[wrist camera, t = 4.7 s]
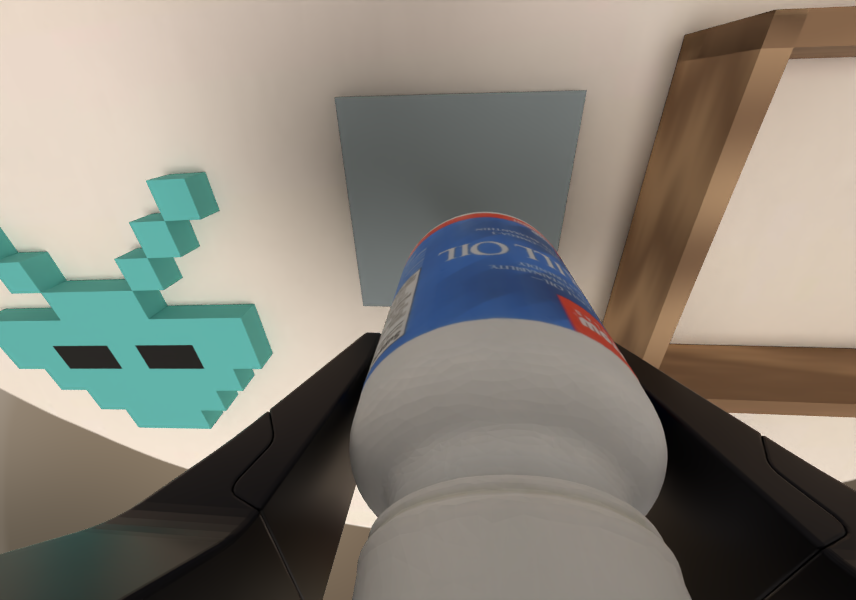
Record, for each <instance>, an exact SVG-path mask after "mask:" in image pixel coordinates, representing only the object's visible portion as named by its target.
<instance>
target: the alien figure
mask: <svg viewBox="0 0 856 600" xmlns="http://www.w3.org/2000/svg"><path fill="white" fill-rule="evenodd" d="M146 182H147V184H148V187H149V189H150V191H151V193H152V195H153V197H154V200H155V202H156V204H157V206H158V208H159V210H160V213H155V214H150V215H147V216H145V217H142V218H140V219H137V220H134V221H132V222H129V224H130V226H131V228H132V229H133V231H134V233H135V235H136V237H137V239H138V241H139V243H140V245H141V247H142V248H137V249H135V250H133V251H131V252H128V253H126V254H124V255H122V256H120V257H118V258H116V259H114V260H115V261H116V263H117V265H118V267H119V268H120V270H121V272H122V274H123V275H124V277H125V279H113V280H76V281H67V280H66V279H65V277H64V276H63V274H62V273H61V271H60V270H59V268H58V267H57V265H56V264H55V262H54V261H53V259H52V258H51V256H50V255H49V253H48V252H22V253H18V251H17V250H16V249H15V247H14V246H13V244H12V243H11V242H10V240H9V239H8V237H7V236H6V235H5V233H4V232H3V230H2V229H1V228H0V279H1V281H2V282H3V283H4V284H5V286H6V287H7V288H8V290H9V291H10V292H11V293H12V294H13V293H41V294H42V295H43V296H44V298H45V299H46V300H47V302H48V303H49V305H50V306H51V307H52V308H24V309H4V310H2V311H0V347H1V348H2V350H3V351H4V352H5V353H6V354H7V355H8V356H9V358H10V359H11V360H12V361H13V362H14V363H15V364H16V365H17V367H18V368H19V369H45V370H46V371H47V372H48V374H49V375H50V376H51V377H52V378H53V380H54V381H55V382H56V383H57V384H58V386H59V387H60V388H61V389H62V390H87V391H88V392H89V394H90V395H91V396H92V397H93V399H94V400H95V401H96V403H97V404H98V405H99V406H100V408H101V409H126V410H127V412H128V413H129V415H130V416H131V417H132V419H133V420H134V421H135V423H136V424H137V426H138V427H144V428H199V429H211V428H212V427H213V425H214V424H215V423H216V421H217V420H218V419H219V417H220V416H221V415H222V413H223V411H226V410H227V409H228V408H229V406H230V405H231V404H232V402H233V401H234V399H235V398H236V397H237V395H238V393H237V391H243V390H244V389H245V387H246V386H247V385H248V383H249V382H250V381H251V379H252V378H253V376H254V372H253V370H252V369H262V367H263V366H264V365H265V363H266V362H267V361H268V359H269V358H270V356H271V355H272V354H273V353H272V350H271V347H270V345H269V342H268V339H267V337H266V334H265V331H264V329H263V326H262V323H261V321H260V318H259V315H258V312H257V310H256V307H255V304H233V305H181V306H167V304H166V302H165V300H164V298H163V297H162V295H161V293H160V291H159V290H165V289H166V288H168V287H169V286H171V285H172V284H174V283H175V282H177V281H178V280H180V279H181V278H183V277H182V275H181V273H180V271H179V269H178V266H177V264H176V262H175V260H174V258H173V257H182V256H184V255H185V254H187V253H189V252H191V251H192V250H194V249H196V248H198V247H199V246H200V245H199V242H198V240H197V238H196V235H195V233H194V231H193V228H192V226H191V224H190V221H189V220H199V219H203V218H205V217H207V216H209V215H211V214H213V213H215V212H217V211H220V210H219V208H218V205H217V202H216V200H215V197H214V194H213V192H212V189H211V186H210V184H209V181H208V178H207V176H206V173H205V172H201V173H183V174H169V175H165V176H161V177H158V178H154V179H150V180H146Z"/></svg>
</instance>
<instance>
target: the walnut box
mask: <svg viewBox="0 0 856 600" xmlns="http://www.w3.org/2000/svg"><path fill="white" fill-rule="evenodd" d="M831 57H856V6H851V7H827V8H804V9H780V10H773V11H769V12H766V13H762V14H759V15H755V16H751V17H748V18H744V19H741V20H737V21H734V22H730V23H726V24H723V25H719V26H716V27H712V28H708V29H705V30H701V31H698V32H694V33H690V34H687V35H685V37H684V40H683V44H682V47H681V51H680V54H679V58H678V61H677V65H676V68H675V72H674V75H673V79H672V82H671V86H670V89H669V93H668V96H667V100H666V103H665V107H664V110H663V114H662V117H661V121H660V124H659V128H658V131H657V135H656V138H655V142H654V145H653V149H652V153H651V156H650V160H649V163H648V167H647V170H646V174H645V177H644V181H643V184H642V188H641V191H640V195H639V198H638V202H637V205H636V209H635V212H634V216H633V219H632V223H631V226H630V230H629V233H628V237H627V240H626V244H625V247H624V251H623V254H622V258H621V261H620V265H619V268H618V272H617V275H616V279H615V282H614V286H613V289H612V293H611V296H610V300H609V303H608V307H607V310H606V314H605V317H604V321H603V326H604V328H605V329H606V331H607V332H608V334H609V335H610V337H611V338H612V340H613V341H614V342H616V343H617V344H619V345H621V346H622V347H624V348H625V349H627V350H629V351H630V352H632V353H633V354H635V355H637V356H638V357H640V358H641V359H643V360H644V361H646V362H648V363H649V364H651V365H652V366H654V367H656V368H657V369H659V370H660V371H662V372H664V373H665V374H667V375H668V376H670V377H672V378H673V379H675V380H676V381H678V382H680V383H681V384H683V385H684V386H686V387H687V388H689V389H691V390H692V391H694V392H695V393H697V394H699V395H700V396H702V397H703V398H705V399H707V400H708V401H710V402H711V403H713V404H715V405H716V406H718V407H719V408H721V409H723V410H724V411H726V412H727V413H752V414H779V415H805V416H831V417H856V349H847V348H806V347H766V346H725V345H684V344H669V343H670V341H671V338H672V336H673V334H674V331H675V329H676V327H677V324H678V322H679V319H680V317H681V315H682V312H683V310H684V307H685V305H686V303H687V300H688V298H689V296H690V293H691V291H692V288H693V286H694V284H695V281H696V279H697V276H698V274H699V272H700V269H701V267H702V265H703V262H704V260H705V257H706V255H707V253H708V250H709V248H710V246H711V243H712V241H713V238H714V236H715V234H716V231H717V229H718V226H719V224H720V222H721V219H722V217H723V215H724V212H725V210H726V207H727V205H728V203H729V200H730V198H731V195H732V193H733V191H734V188H735V186H736V184H737V181H738V179H739V176H740V174H741V172H742V169H743V167H744V165H745V162H746V160H747V157H748V155H749V153H750V150H751V148H752V145H753V143H754V141H755V138H756V136H757V134H758V131H759V129H760V126H761V124H762V122H763V119H764V117H765V114H766V112H767V110H768V107H769V105H770V103H771V100H772V98H773V95H774V93H775V91H776V88H777V86H778V83H779V81H780V79H781V76H782V74H783V72H784V69H785V67H786V64H787V62H788V60H789V59H800V58H831Z"/></svg>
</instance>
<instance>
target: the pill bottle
mask: <svg viewBox="0 0 856 600" xmlns="http://www.w3.org/2000/svg"><path fill="white" fill-rule="evenodd" d="M349 456H350V464H351V469H352V474H353V477H354V480H355V482H356V485H357V487H358V490H359V492H360V493H361V495H362V497H363V499H364V500H365V502H366V503H367V505H368V506H369V508H370V509H371V510H372V511H373V512H374V513H375V515H376V516H377V517H378V518H377V519H376V521H375V522H374V524H373V525H372V528H371V531H370V533H369V537H368V540H367V541H366V543H365V545H364V546H363V548H362V550H361V553H360V556H359V560H358V565H357V576H356V582H355V587H354V592H353V598H352V600H692V599H691V597H690V594H689V592H688V590H687V588H686V586H685V583H684V579H683V575H682V572H681V569H680V566H679V563H678V561H677V559H676V558H675V556H674V554H673V552H672V551H671V550H670V549H669V547H668V546H667V545H666V544H665V543H664V541H663V538H662V537H661V535H660V534H659V532H658V531H657V529H656V528H655V527H654V525H653V524H652V523H651V522H650V521H649V520H648V519H647V518H646V517H645V516H646V515H647V513H648V512H649V511H650V509H651V508H652V506H653V504H654V503H655V501H656V499H657V498H658V496H659V493H660V490H661V488H662V485H663V483H664V478H665V474H666V468H667V445H666V439H665V435H664V430H663V427H662V424H661V421H660V419H659V417H658V415H657V413H656V411H655V408H654V406H653V404H652V403H651V401H650V400H649V398H648V396H647V395H646V393H645V391H644V390H643V388H642V386H641V385H640V382H639V380H638V378H637V377H636V375H635V374H634V372H633V371H632V369H631V367H630V366H629V365H628V363H627V362H626V360H625V358H624V356H623V355H622V354H621V352H620V351H619V349H618V348H617V346H616V344H615V343H614V341H613V340H612V338H611V337H610V335H609V334H608V332H607V331H606V329H605V328H604V326H603V324H602V323H601V321H600V320H599V318H598V317H597V315H596V313H595V312H594V310H593V309H592V307H591V306H590V304H589V302H588V301H587V299H586V298H585V296H584V294H583V293H582V291H581V290H580V288H579V287H578V285H577V284H576V282H575V280H574V279H573V277H572V276H571V274H570V273H569V271H568V270H567V268H566V266H565V265H564V263H563V261H562V260H561V258H560V257H559V255H558V254H557V252H556V250H555V249H554V247H553V246H552V245H551V244H550V242H549V241H548V240H547V239H546V238H545V237H544V236H543V235H542V234H541V233H540V232H539V231H538V230H536V229H535V228H534V227H532V226H531V225H529V224H528V223H526V222H524V221H522V220H520V219H518V218H516V217H513V216H510V215H506V214H502V213H496V212H474V213H468V214H463V215H460V216H457V217H454V218H451V219H449V220H447V221H445V222H443V223H441V224H439V225H438V226H436V227H435V228H433V229H432V230H431V231H430V232H428V233H427V234H426V235H425V236H424V237H423V238H422V239H421V240H420V242H419V243H418V244H417V245H416V246H415V248H414V249H413V251H412V252H411V254H410V256H409V258H408V260H407V262H406V264H405V267H404V270H403V272H402V275H401V278H400V281H399V284H398V287H397V290H396V293H395V296H394V299H393V302H392V305H391V308H390V311H389V314H388V316H387V319H386V322H385V325H384V328H383V331H382V334H381V337H380V340H379V343H378V345H377V348H376V351H375V354H374V357H373V360H372V363H371V365H370V369H369V372H368V374H367V377H366V380H365V383H364V386H363V389H362V392H361V396H360V400H359V403H358V406H357V409H356V413H355V416H354V419H353V423H352V427H351V432H350V442H349Z"/></svg>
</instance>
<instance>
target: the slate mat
mask: <svg viewBox="0 0 856 600" xmlns="http://www.w3.org/2000/svg"><path fill="white" fill-rule="evenodd" d="M586 91H587V90H579V91H542V92H505V93H469V94H432V95H395V96H358V97H335V104H336V111H337V119H338V126H339V133H340V140H341V147H342V155H343V162H344V169H345V176H346V184H347V191H348V198H349V205H350V212H351V220H352V227H353V234H354V241H355V249H356V256H357V263H358V270H359V278H360V285H361V292H362V299H363V306H391V305H392V302H393V299H394V296H395V293H396V290H397V287H398V284H399V281H400V278H401V275H402V272H403V270H404V267H405V264H406V262H407V260H408V258H409V256H410V254H411V252H412V251H413V249H414V248H415V246H416V245H417V244H418V243H419V242H420V240H421V239H422V238H423V237H424V236H425V235H426V234H427V233H428V232H430V231H431V230H432V229H433V228H435V227H436V226H438V225H439V224H441V223H443V222H445V221H447V220H449V219H451V218H454V217H457V216H460V215H463V214H468V213H474V212H496V213H502V214H506V215H510V216H513V217H516V218H518V219H520V220H522V221H524V222H526V223H528V224H529V225H531V226H532V227H534V228H535V229H536V230H538V231H539V232H540V233H541V234H542V235H543V236H544V237H545V238H546V239H547V240H548V241H549V242H550V244H551V245H552V246H553V247H554V249H555V250H556V252H557V251H558V246H559V240H560V235H561V229H562V224H563V218H564V213H565V207H566V202H567V196H568V190H569V185H570V179H571V174H572V168H573V163H574V157H575V152H576V146H577V141H578V135H579V130H580V124H581V119H582V113H583V108H584V102H585V97H586Z"/></svg>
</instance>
